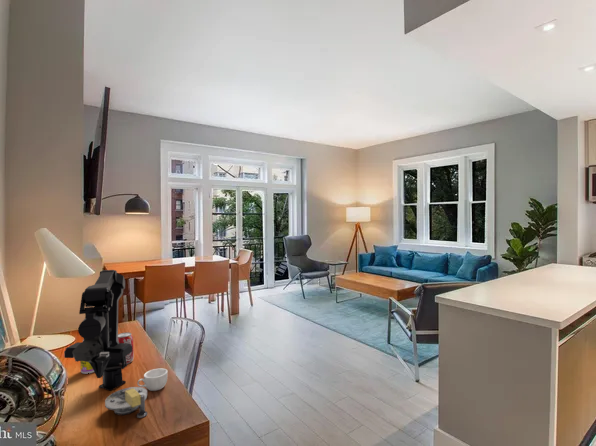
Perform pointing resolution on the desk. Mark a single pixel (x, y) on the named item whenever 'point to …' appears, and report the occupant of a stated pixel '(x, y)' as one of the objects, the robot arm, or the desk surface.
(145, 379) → the teacup
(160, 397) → the desk surface
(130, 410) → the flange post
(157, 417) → the desk surface
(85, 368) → the supplement bottle
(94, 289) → the robot arm
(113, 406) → the flange plate
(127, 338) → the soda can
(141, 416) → the flanged pin
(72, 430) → the desk surface
